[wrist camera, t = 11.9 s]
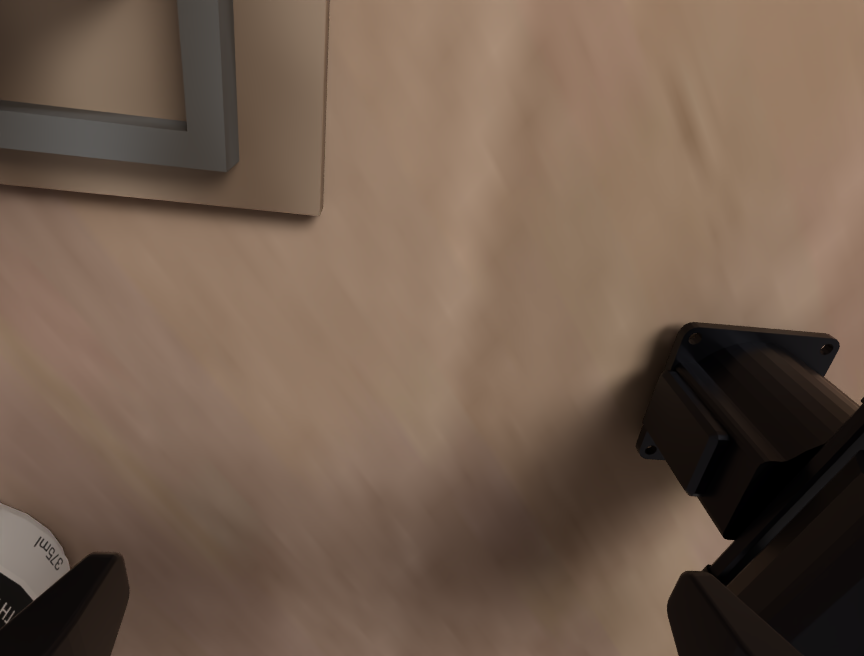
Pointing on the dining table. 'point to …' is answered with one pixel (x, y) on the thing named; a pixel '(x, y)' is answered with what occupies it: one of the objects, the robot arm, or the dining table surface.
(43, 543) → the supplement can
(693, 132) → the dining table surface
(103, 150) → the seat board
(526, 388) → the dining table surface
